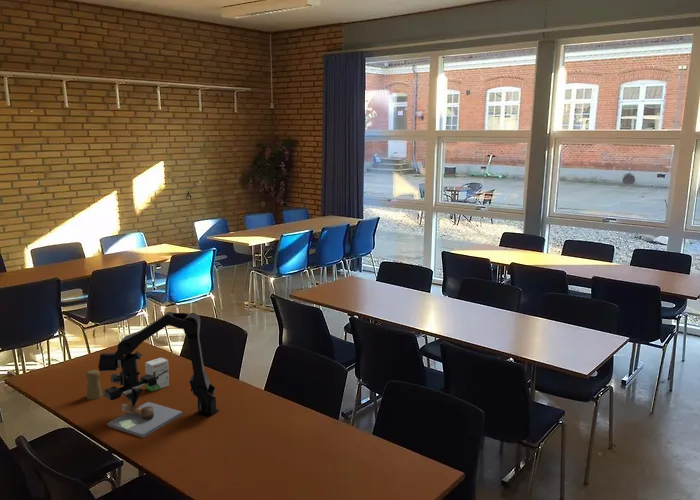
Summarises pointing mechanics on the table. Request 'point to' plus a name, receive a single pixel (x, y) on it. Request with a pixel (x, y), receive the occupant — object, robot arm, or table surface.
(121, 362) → the robot arm
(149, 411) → the peg lever
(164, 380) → the ink box
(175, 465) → the table surface
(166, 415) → the board
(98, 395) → the cork
